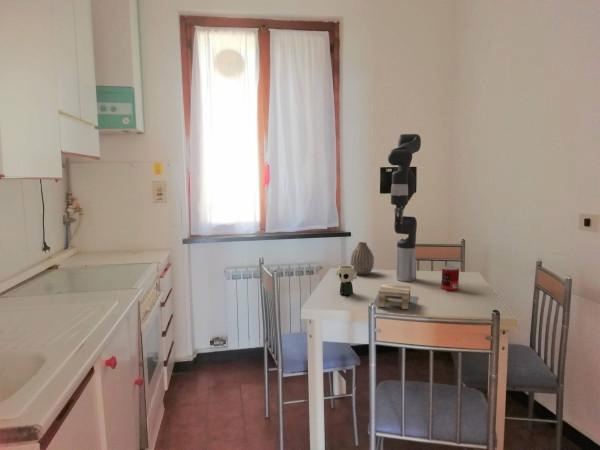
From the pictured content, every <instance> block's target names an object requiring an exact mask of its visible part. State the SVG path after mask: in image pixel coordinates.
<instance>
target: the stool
mask: <svg viewBox="0 0 600 450" xmlns="http://www.w3.org/2000/svg"><path fill="white" fill-rule="evenodd" d="M378 294H379V302H378V308H385V305H397V306H402V310H408V306H409V303H410V296H411V285H401V284H400V285H398V284H389V283H388V284H384V283H382V284H381V286H380V288H379V290H378ZM388 298H392V299H402V302H393V301H388Z"/></svg>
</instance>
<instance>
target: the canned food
mask: <svg viewBox="0 0 600 450" xmlns="http://www.w3.org/2000/svg"><path fill="white" fill-rule="evenodd" d="M459 276H460V267H459V266H458V265H452V264H450V265H449V264H448V265H443V266H442V267H441V289H442V290H443V291H446V292H457V291H458V290H459V283H460V281H459V280H460V277H459Z"/></svg>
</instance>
